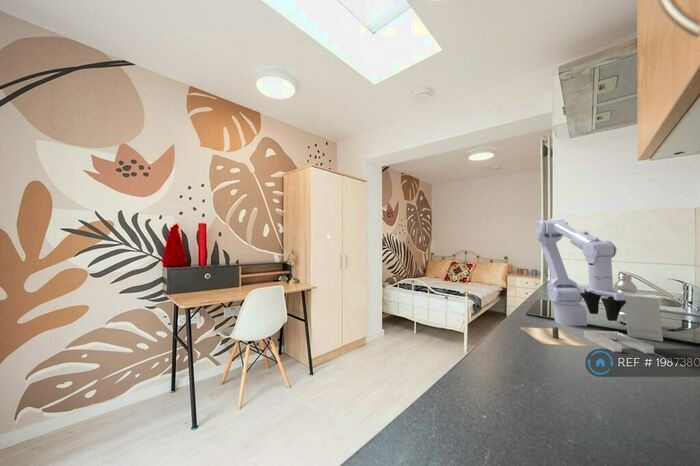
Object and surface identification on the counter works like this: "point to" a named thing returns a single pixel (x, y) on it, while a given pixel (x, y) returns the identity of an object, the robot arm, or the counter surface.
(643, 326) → the skincare box
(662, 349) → the counter surface
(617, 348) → the c link
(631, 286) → the plastic bottle
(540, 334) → the hook board
